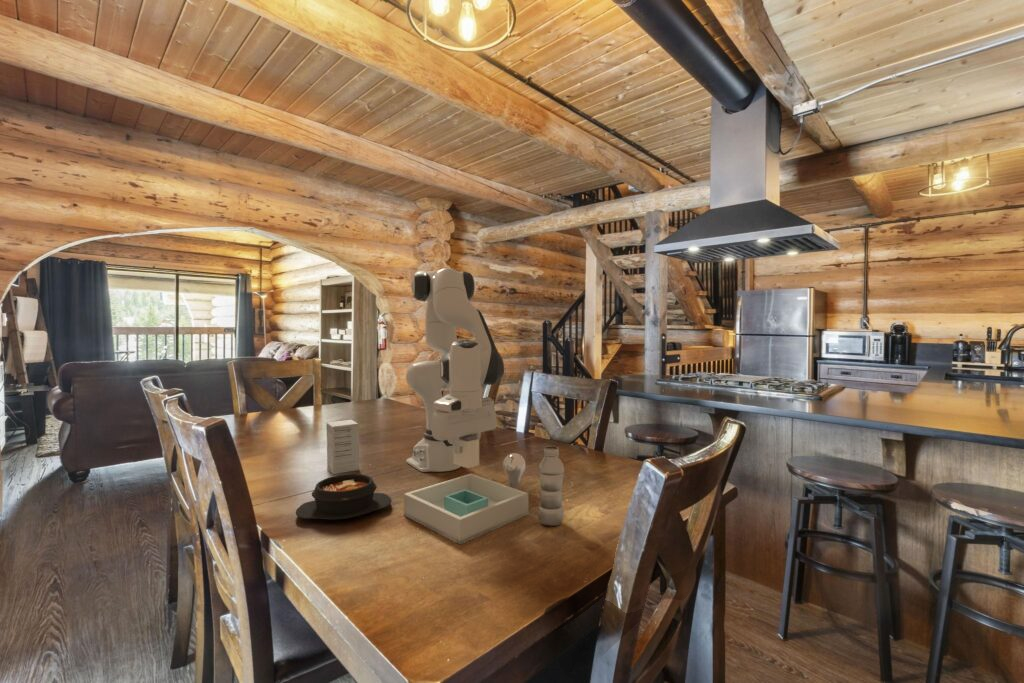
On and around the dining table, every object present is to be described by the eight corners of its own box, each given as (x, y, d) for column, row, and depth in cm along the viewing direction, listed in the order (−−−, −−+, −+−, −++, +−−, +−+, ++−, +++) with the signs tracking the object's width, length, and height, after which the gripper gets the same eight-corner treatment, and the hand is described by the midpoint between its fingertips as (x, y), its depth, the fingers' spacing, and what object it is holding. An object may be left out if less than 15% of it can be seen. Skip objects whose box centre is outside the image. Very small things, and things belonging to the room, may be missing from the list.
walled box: (404, 515, 125) (403, 493, 125) (471, 492, 143) (471, 473, 142) (459, 544, 109) (459, 519, 108) (528, 514, 126) (528, 493, 126)
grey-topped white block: (453, 463, 126) (453, 434, 125) (464, 460, 129) (464, 432, 128) (467, 468, 121) (467, 438, 121) (479, 465, 124) (479, 435, 124)
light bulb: (523, 496, 139) (523, 457, 139) (500, 494, 141) (500, 455, 140) (527, 488, 146) (527, 451, 146) (505, 486, 148) (505, 449, 147)
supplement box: (359, 470, 165) (359, 423, 164) (333, 474, 160) (332, 426, 159) (352, 463, 173) (351, 419, 172) (326, 467, 167) (325, 421, 167)
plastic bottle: (536, 518, 123) (536, 444, 122) (561, 518, 124) (561, 444, 123) (539, 529, 117) (540, 451, 116) (566, 528, 117) (566, 451, 117)
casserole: (292, 533, 115) (291, 500, 115) (298, 505, 132) (298, 477, 132) (394, 518, 124) (394, 487, 123) (388, 494, 141) (387, 467, 141)
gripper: (486, 395, 134) (486, 442, 135) (428, 403, 120) (428, 456, 120) (501, 397, 130) (501, 446, 130) (442, 406, 115) (443, 461, 116)
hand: (466, 451), depth 125 cm, fingers closed on grey-topped white block, 4 cm apart
